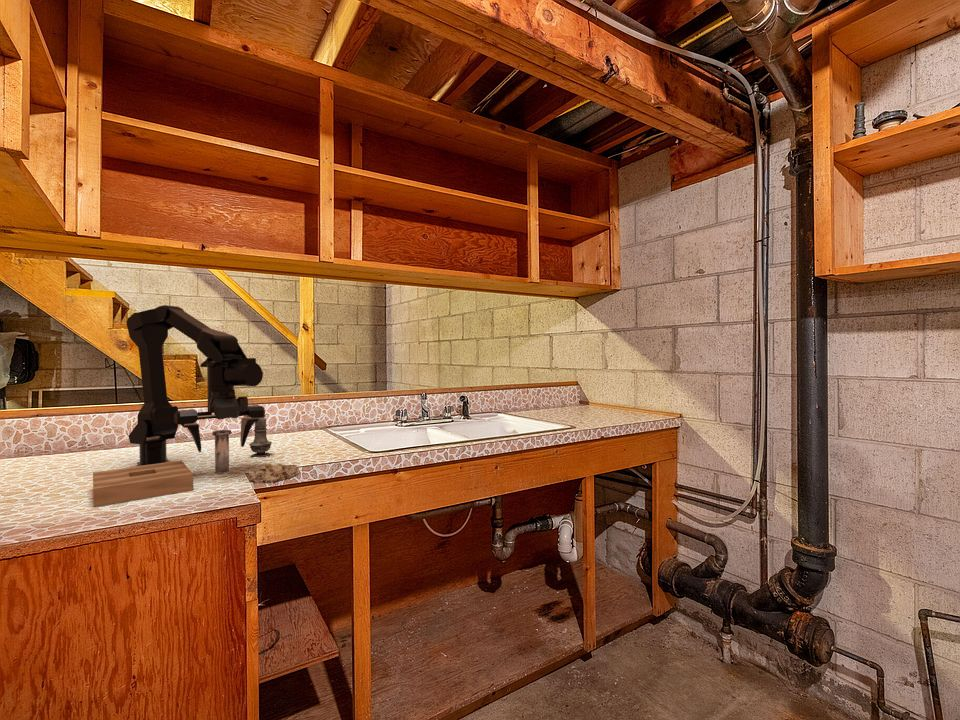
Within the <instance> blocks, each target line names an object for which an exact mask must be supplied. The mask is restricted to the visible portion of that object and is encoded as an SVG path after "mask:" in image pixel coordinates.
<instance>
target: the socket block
mask: <svg viewBox="0 0 960 720" xmlns="http://www.w3.org/2000/svg"><path fill="white" fill-rule="evenodd" d="M92 488H93V489H92V491H93V492H92V494H93V496H92V499H93V504H92V505H93V508H97V507H96V506H98V507H103V506H102V505H104V506H109V505H108V504H110V505H114V504H113V503H116V504H120V503H119V502H122V503H127V502H132V500H133V501H138V500H144V499H150V498H156V497H160V496H161V497H162V496H167V495H174V494H179V493H184V491H185V492H190V491H194V473H193V472H192V471H191V469H189V467H188V466H187V465H186V464H185V463H184V461H182V460H175V461H169V462H166V463H158V464H151V465H143V466H138V465H137V466H130V467H122V468H115V469H107V470H100V471H93V472H92ZM173 493H174V494H173ZM126 501H127V502H126Z"/></svg>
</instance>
